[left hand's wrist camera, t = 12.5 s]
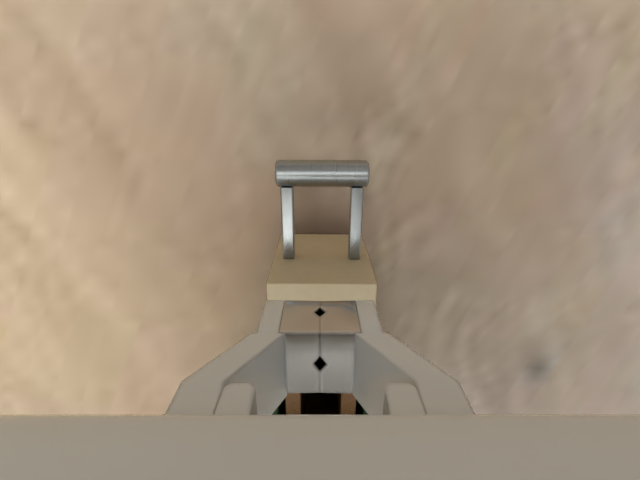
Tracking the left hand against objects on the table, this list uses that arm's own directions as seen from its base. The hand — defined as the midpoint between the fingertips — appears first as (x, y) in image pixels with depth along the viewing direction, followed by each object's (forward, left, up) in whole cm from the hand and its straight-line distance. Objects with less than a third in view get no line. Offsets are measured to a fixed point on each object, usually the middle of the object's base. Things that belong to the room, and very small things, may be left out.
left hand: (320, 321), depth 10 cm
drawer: (+8, +1, -12) cm, 14 cm away
